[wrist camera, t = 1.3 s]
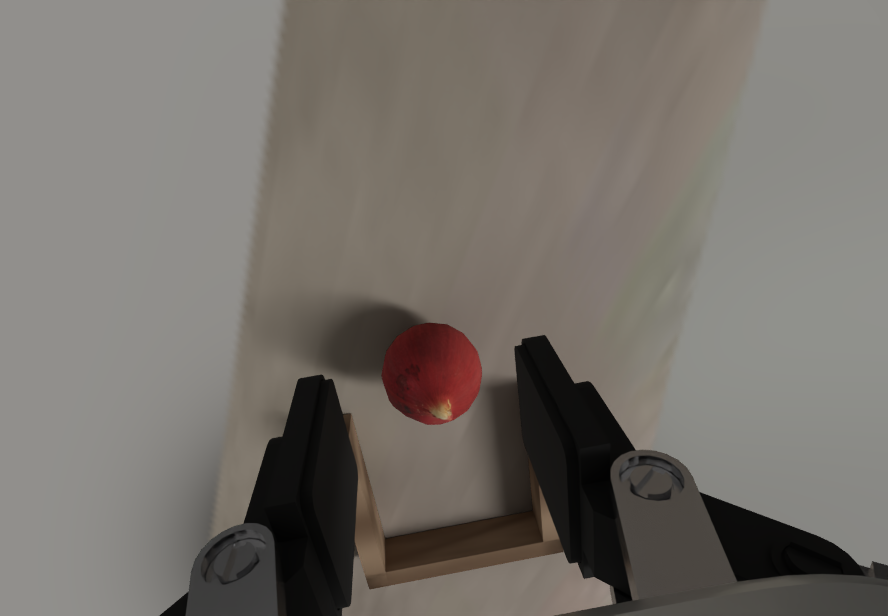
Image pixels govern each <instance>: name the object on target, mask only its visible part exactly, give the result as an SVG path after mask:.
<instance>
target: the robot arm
mask: <svg viewBox="0 0 888 616" xmlns="http://www.w3.org/2000/svg"><path fill="white" fill-rule="evenodd" d="M515 362H516V372H517V383H518V394H519V405H520V416H521V427H522V436H523V441H524V445H525V448H526V451H527V453H528V456H529V459H530V461H531V464H532V467H533V469H534V472H535V475H536V478H537V480H538V483H539V486H540V488H541V491H542V494H543V496H544V499H545V502H546V504H547V507H548V510H549V512H550V515H551V518H552V520H553V523H554V526H555V528H556V531H557V534H558V536H559V539H560V542H561V545H562V547H563V550H564V553H565V555H566V558H567V560H568V562H569V563H576V562H578V565H579V568H580V570H581V573H582V575H583V578H584V579H585V578H591V577H595V578H597V579H599V580H601V581H603V582H605V583H607V584H609V585H610V592H611V598H612V603H613V605H607V606H602V607H597V608H592V609H587V610H581V611H576V612H571V613H566V614H561V615H555V616H888V565H884V564H881V563H877V562H873V561H872V564H871V567H870V568H868V567H864V566H861V565H858V564H857V563H856V562H855V561H854V560H853V559H852V558H851V556H850V555H849V554H848V553H846V552H845V551H843V550H842V549H840V548H839V547H838V546H836V545H835V544H833V543H832V542H829V541H827V540H825V539H823V538H821V537H819V536H817V535H814V534H811V533H808V532H806V531H803V530H800V529H798V528H795V527H792V526H790V525H787V524H784V523H781V522H779V521H776V520H773V519H770V518H768V517H765V516H763V515H760V514H757V513H755V512H752V511H749V510H746V509H743V508H741V507H738V506H735V505H733V504H730V503H728V502H725V501H722V500H719V499H717V498H714V497H711V496H709V495H706V494H703V493H701V492H699V491H698V488H697V486H696V484H695V481H694V479H693V476H692V475H691V473H690V472H689V470H688V469H687V467H686V466H684V465H683V464H682V463H681V462H680V461H679V460H677V459H675V458H673V457H671V456H669V455H667V454H664V453H661V452H657V451H652V450H635V448H634V447H633V445H632V444H631V442H630V441H629V439H628V438H627V436H626V435H625V433H624V431H623V430H622V428H621V427H620V425H619V424H618V422H617V421H616V419H615V418H614V416H613V415H612V413H611V412H610V410H609V409H608V407H607V406H606V404H605V403H604V401H603V399H602V398H601V396H600V395H599V393H598V392H597V390H596V389H595V387H594V386H593V385H592V383H591V382H589V381H586V382H581V383H575V384H574V382H573V380H572V379H571V377H570V375H569V374H568V372H567V370H566V369H565V367H564V365H563V364H562V362H561V360H560V359H559V357H558V355H557V354H556V352H555V351H554V349H553V347H552V346H551V344H550V342H549V341H548V339H547V337H546V336H545V335H542V336H536V337H531V338H525V339H522V345H519V346H515ZM357 491H358V469H357V464H356V460H355V456H354V453H353V449H352V446H351V442H350V438H349V435H348V431H347V428H346V424H345V421H344V417H343V414H342V410H341V407H340V403H339V399H338V396H337V392H336V389H335V385H334V382H333V380H332V379H328V380H325V378H324V376H323V375H316V376H311V377H305V378H300V379H298V381H297V385H296V389H295V392H294V396H293V400H292V404H291V407H290V411H289V415H288V419H287V422H286V426H285V430H284V434H283V437H277V438H272V439H271V440H269V442H268V445H267V448H266V451H265V454H264V457H263V461H262V464H261V467H260V471H259V474H258V477H257V481H256V484H255V487H254V491H253V494H252V497H251V501H250V504H249V507H248V510H247V514H246V517H245V520H244V524H241V525H237V526H234V527H231V528H229V529H227V530H225V531H223V532H221V533H220V534H218V535H217V536H216V537H214V538H213V539H211V540H210V541H209V542H208V543H207V544H206V545H205V547H204V548H203V549H201V551H200V553H199V554H198V556H197V558H196V559H195V561H194V564H193V568H192V571H191V577H190V585H189V592H188V593H186V594H185V595H184V596H183V597H181V598H180V599H179V600H178V601H177V602H175V603H174V604H173V605H172V606H171V607H169V608H168V609H167V610H166V611H164V612H163V613H162V614H161V615H160V616H342V608H344V607H349V606H350V604H351V595H352V577H353V560H354V543H355V526H356V508H357Z"/></svg>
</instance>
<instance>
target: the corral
mask: <svg viewBox="0 0 888 616" xmlns="http://www.w3.org/2000/svg"><path fill="white" fill-rule="evenodd" d="M343 417H344V421H345V424H346V428H347V431H348V435H349V438H350V442H351V446H352V449H353V453H354V456H355V460H356V464H357V469H358V491H357V508H356V526H355V544H356V547H357V551H358V554H359V557H360V560H361V564H362V567H363V570H364V573H365V576H366V580H367V583H368V586H369V589H374V588H379V587H384V586H390V585H395V584H400V583H405V582H410V581H415V580H421V579H426V578H431V577H436V576H441V575H446V574H452V573H457V572H462V571H467V570H472V569H477V568H483V567H488V566H493V565H498V564H503V563H508V562H514V561H519V560H524V559H529V558H534V557H539V556H545V555H550V554H555V553H560V552H564V551H563V547H562V545H561V542H560V539H559V536H558V534H557V531H556V528H555V526H554V523H553V520H552V518H551V515H550V512H549V510H548V507H547V504H546V502H545V499H544V496H543V494H542V491H541V488H540V486H539V483H538V480H537V478H536V475H535V472H534V469H533V467H532V464H531V461H530V459H529V456H528V461H529V473H530V484H531V496H532V507H533V511H529V512H524V513H519V514H514V515H508V516H503V517H498V518H493V519H487V520H482V521H477V522H472V523H466V524H461V525H456V526H451V527H445V528H440V529H435V530H430V531H424V532H419V533H414V534H408V535H403V536H398V537H393V538H387V539H385V536H384V532H383V529H382V525H381V521H380V518H379V514H378V510H377V507H376V503H375V499H374V496H373V492H372V488H371V485H370V481H369V477H368V474H367V470H366V466H365V463H364V459H363V455H362V452H361V448H360V444H359V441H358V437H357V433H356V430H355V426H354V422H353V419H352V415H351V414H345V415H343Z"/></svg>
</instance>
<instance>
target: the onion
mask: <svg viewBox="0 0 888 616" xmlns="http://www.w3.org/2000/svg"><path fill="white" fill-rule="evenodd" d="M381 376H382V380H383V383H384V386H385V389H386V392H387V395H388V398H389V401H390V402H391V404H392V405H393V406H394V407H395V408H396V409H398V410H399V411H400V412H402V413H403V414H404V415H405V416H407V417H409V418H412V419H414V420H417V421H419V422H422V423H424V424H427V425H435V424H443V423H446V422H449V421H452V420H454V419H456V418H457V417H459V416H460V415H462V414H463V413H465V412H466V411H467V410H468V409H469V408H470V406H471V405H472V403H473V401H474V400H475V398H476V397H477V395H478V392H479V389H480V383H481V377H482V367H481V364H480V360H479V356H478V352H477V351H476V349H475V347H474V346H473V345H472V344H471V342H470V341H469V340H468V339H467V337H466V336H465V335H464V334H463V333H462V332H460V331H458V330H456V329H455V328H453V327H451V326H449V325H447V324H438V323H425V324H420V325H415V326H413V327H411V328H409V329H408V330H406V331H405V332H403V333H402V334H400V335H399V336H397V337H396V339H395V340H394V341H393V343H392V344H391V345H390V347H389V348H388V350H387V352H386V355H385V360H384V365H383V370H382V375H381Z"/></svg>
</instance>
